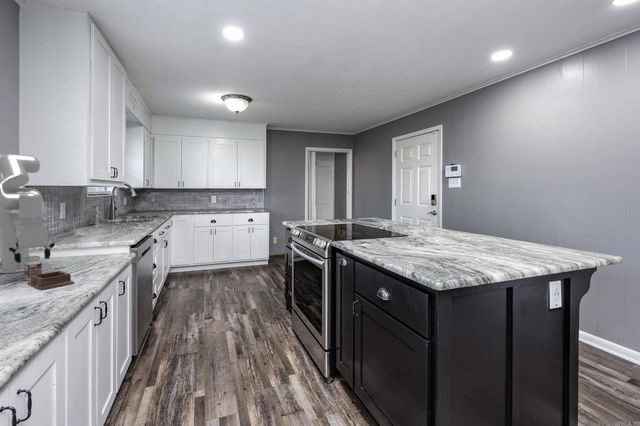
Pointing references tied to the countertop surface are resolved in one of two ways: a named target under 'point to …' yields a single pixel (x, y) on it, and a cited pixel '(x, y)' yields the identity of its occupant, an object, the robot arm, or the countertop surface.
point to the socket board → (50, 280)
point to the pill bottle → (32, 267)
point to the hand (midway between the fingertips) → (33, 260)
